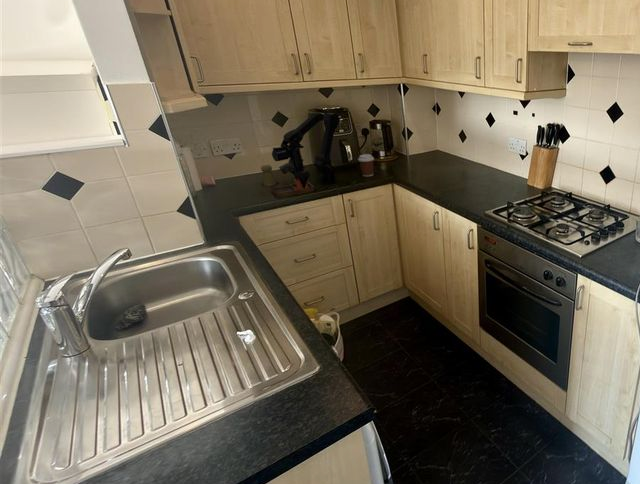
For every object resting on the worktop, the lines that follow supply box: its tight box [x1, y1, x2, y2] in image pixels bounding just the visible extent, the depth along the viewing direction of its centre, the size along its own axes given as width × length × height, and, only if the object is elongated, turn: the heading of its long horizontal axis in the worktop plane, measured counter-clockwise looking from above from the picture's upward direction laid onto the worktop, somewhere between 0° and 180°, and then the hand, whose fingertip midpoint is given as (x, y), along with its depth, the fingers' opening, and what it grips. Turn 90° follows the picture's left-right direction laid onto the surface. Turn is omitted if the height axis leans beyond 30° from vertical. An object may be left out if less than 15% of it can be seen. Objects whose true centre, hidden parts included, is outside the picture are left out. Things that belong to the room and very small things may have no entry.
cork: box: [260, 164, 277, 187], centre depth 225 cm, size 6×6×11 cm
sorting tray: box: [271, 180, 316, 199], centre depth 217 cm, size 18×12×2 cm, turn 131°
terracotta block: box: [293, 178, 308, 190], centre depth 219 cm, size 5×5×5 cm
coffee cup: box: [357, 153, 375, 178], centre depth 244 cm, size 9×9×12 cm
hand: (301, 185), depth 219 cm, fingers open, 9 cm apart
